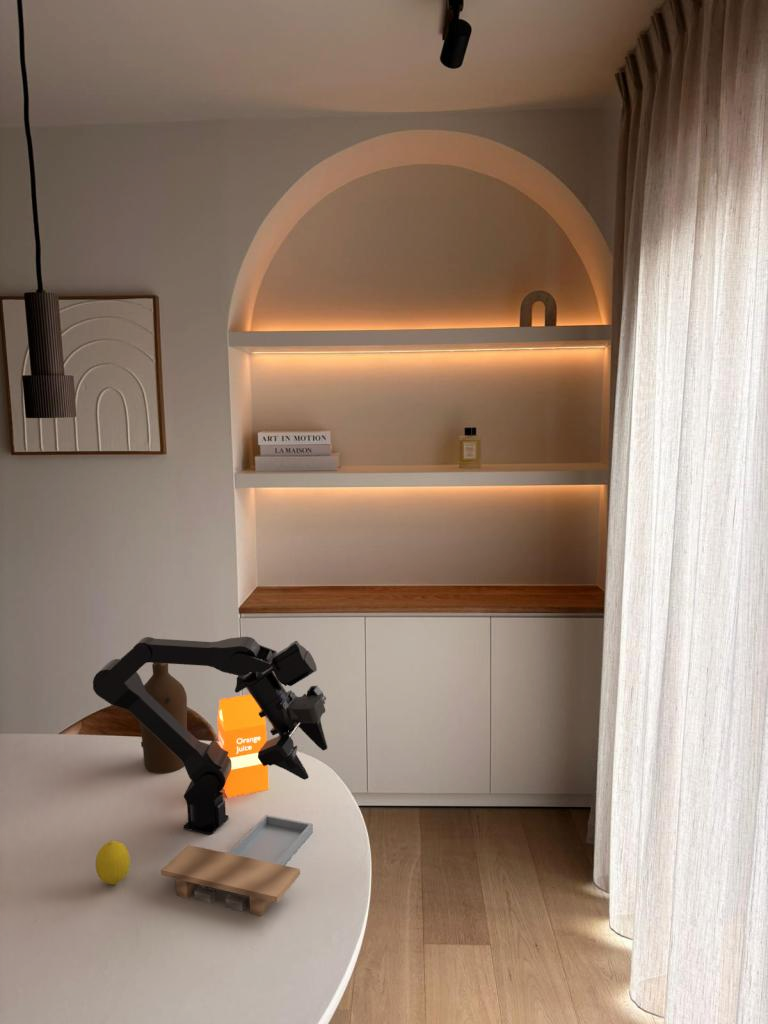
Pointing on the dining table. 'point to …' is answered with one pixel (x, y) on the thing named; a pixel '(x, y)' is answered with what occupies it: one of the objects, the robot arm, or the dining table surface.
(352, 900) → the dining table surface
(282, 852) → the grey open tray
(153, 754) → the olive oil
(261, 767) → the orange juice
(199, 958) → the dining table surface
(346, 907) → the dining table surface
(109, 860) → the lemon
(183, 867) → the bridge
